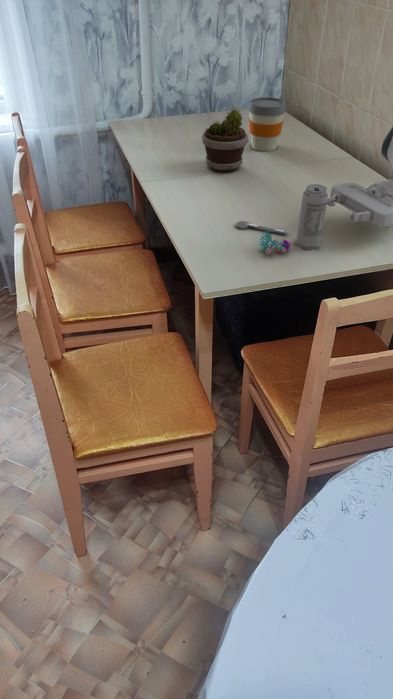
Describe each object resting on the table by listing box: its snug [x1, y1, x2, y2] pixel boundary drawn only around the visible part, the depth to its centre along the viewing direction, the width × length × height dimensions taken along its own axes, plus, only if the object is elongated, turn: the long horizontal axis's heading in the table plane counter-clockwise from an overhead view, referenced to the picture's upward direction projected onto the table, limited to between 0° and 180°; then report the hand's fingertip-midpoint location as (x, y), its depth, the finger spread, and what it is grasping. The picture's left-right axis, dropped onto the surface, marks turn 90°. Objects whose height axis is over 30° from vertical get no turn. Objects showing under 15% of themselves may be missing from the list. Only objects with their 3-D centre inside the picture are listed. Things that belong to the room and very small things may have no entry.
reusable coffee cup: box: [248, 96, 286, 152], centre depth 189 cm, size 13×13×15 cm
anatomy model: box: [258, 230, 291, 256], centre depth 134 cm, size 5×8×7 cm
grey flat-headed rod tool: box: [235, 220, 287, 236], centre depth 144 cm, size 14×4×1 cm, turn 66°
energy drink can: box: [295, 183, 329, 250], centre depth 134 cm, size 6×6×15 cm
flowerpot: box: [201, 104, 250, 173], centre depth 172 cm, size 14×15×20 cm
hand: (339, 209), depth 137 cm, fingers open, 8 cm apart
